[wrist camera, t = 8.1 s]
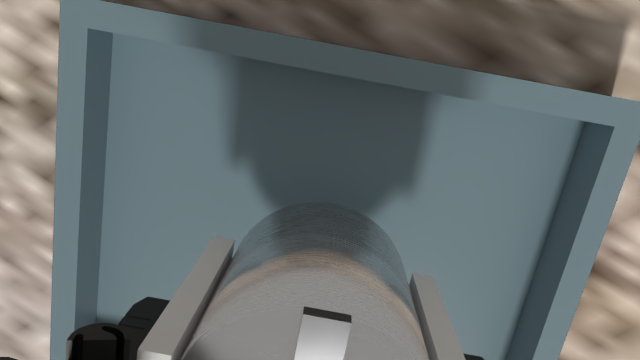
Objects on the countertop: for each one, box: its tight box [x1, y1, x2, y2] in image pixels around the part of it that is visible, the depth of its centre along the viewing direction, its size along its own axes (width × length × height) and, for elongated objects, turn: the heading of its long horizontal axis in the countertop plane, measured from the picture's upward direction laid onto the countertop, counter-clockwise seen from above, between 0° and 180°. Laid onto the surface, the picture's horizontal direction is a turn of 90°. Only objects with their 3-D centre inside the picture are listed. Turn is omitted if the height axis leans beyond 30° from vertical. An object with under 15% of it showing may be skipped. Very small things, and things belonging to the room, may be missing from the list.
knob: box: [180, 202, 429, 360], centre depth 14 cm, size 6×6×7 cm
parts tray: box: [50, 0, 640, 360], centre depth 20 cm, size 21×17×3 cm
